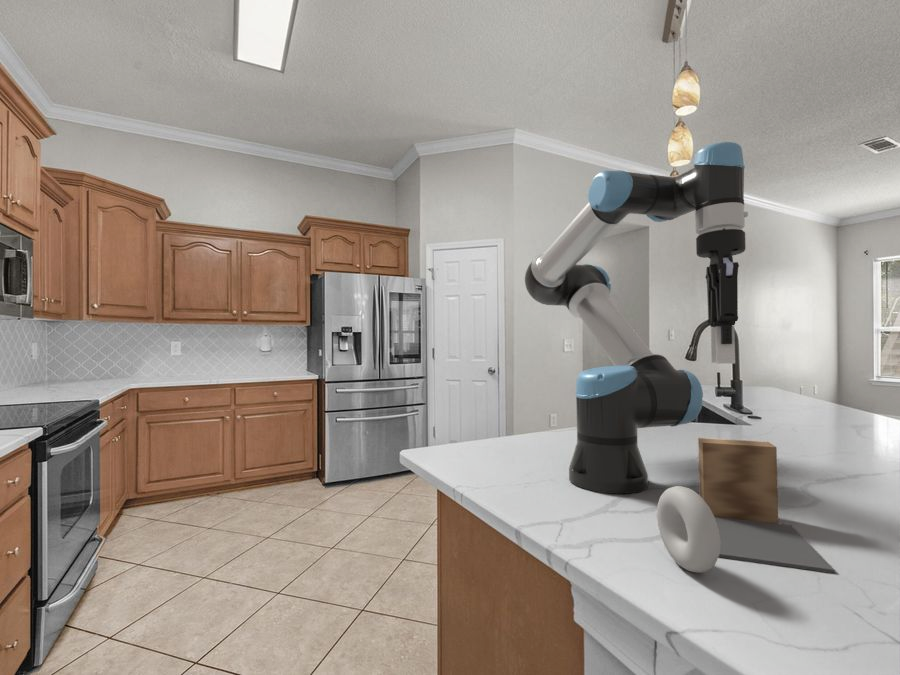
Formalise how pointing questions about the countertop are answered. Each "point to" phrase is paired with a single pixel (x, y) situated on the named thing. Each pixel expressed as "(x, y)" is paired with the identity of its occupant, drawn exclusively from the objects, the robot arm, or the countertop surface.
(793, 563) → the mat
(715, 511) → the slab
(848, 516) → the countertop surface
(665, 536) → the donut
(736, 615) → the countertop surface
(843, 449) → the countertop surface
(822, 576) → the countertop surface
